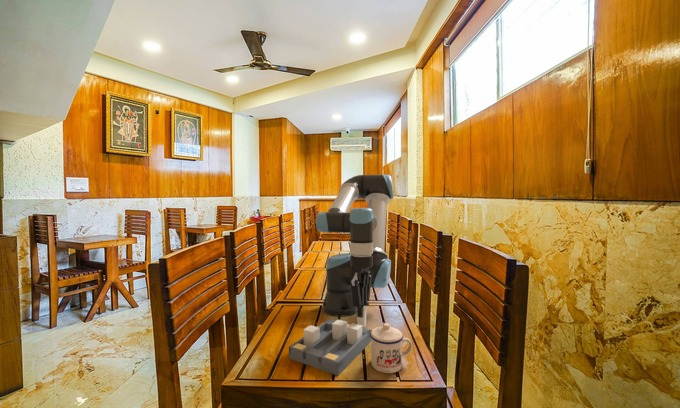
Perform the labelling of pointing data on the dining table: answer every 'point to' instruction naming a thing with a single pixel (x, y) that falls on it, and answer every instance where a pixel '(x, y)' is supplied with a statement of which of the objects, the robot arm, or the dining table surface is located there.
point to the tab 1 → (311, 335)
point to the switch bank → (329, 350)
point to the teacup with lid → (387, 349)
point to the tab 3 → (354, 333)
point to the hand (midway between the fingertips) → (361, 325)
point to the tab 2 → (339, 329)
